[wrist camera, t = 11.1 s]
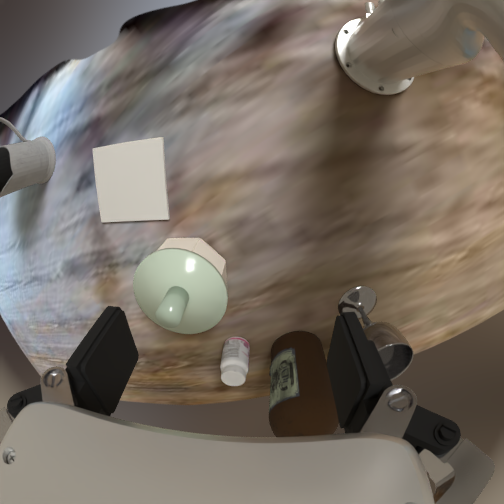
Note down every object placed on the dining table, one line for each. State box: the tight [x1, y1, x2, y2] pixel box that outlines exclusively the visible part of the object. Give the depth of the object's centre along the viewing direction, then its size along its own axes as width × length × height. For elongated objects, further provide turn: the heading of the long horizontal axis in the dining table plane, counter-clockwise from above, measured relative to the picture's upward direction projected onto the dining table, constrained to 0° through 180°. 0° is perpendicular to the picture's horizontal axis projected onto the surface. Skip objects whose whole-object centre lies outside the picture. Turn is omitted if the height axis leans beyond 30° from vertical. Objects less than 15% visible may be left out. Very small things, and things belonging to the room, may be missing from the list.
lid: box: [133, 248, 228, 334], centre depth 34 cm, size 14×14×6 cm
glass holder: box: [0, 117, 56, 197], centre depth 27 cm, size 9×14×15 cm, turn 13°
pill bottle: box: [220, 337, 250, 386], centre depth 44 cm, size 5×5×8 cm
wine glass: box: [338, 286, 413, 380], centre depth 37 cm, size 8×8×15 cm
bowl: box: [157, 237, 227, 287], centre depth 39 cm, size 12×12×6 cm
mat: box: [93, 137, 170, 222], centre depth 36 cm, size 12×12×1 cm
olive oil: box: [269, 331, 339, 437], centre depth 37 cm, size 11×11×25 cm
